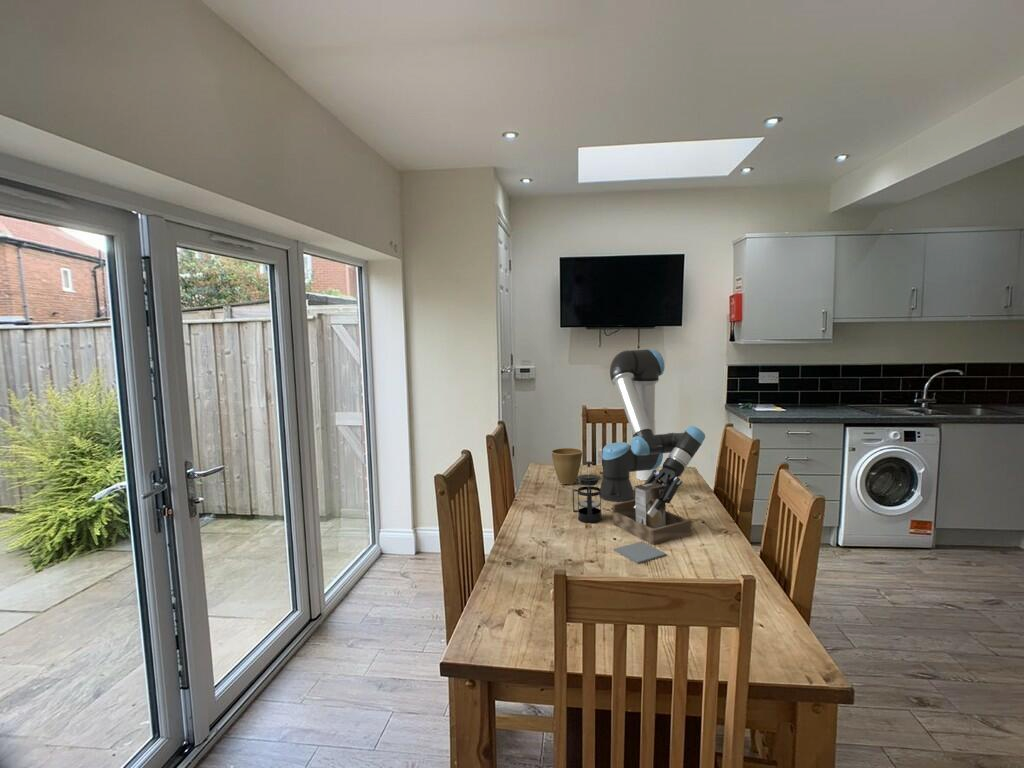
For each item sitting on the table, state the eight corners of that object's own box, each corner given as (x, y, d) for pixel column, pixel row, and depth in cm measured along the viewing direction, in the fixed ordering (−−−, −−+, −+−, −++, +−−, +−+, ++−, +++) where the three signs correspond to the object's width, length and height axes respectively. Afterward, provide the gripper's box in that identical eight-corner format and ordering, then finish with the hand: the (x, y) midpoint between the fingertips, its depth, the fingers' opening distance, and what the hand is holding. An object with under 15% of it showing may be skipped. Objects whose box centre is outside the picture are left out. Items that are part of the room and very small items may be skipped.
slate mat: (613, 550, 179) (613, 548, 179) (641, 543, 184) (641, 541, 184) (637, 563, 168) (637, 561, 168) (666, 555, 174) (666, 553, 173)
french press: (603, 515, 213) (602, 459, 211) (604, 523, 204) (602, 465, 201) (573, 514, 214) (572, 459, 212) (573, 523, 205) (571, 465, 203)
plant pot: (584, 487, 251) (584, 454, 250) (553, 488, 252) (552, 455, 250) (581, 478, 266) (580, 447, 265) (551, 479, 266) (550, 448, 265)
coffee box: (655, 522, 201) (654, 481, 199) (666, 528, 195) (666, 485, 193) (635, 527, 197) (634, 485, 195) (646, 533, 191) (645, 489, 190)
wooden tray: (612, 524, 202) (612, 504, 201) (648, 516, 210) (647, 496, 209) (653, 544, 182) (653, 522, 182) (690, 534, 190) (690, 512, 189)
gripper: (701, 474, 192) (667, 526, 187) (663, 462, 209) (631, 510, 204) (690, 462, 189) (655, 515, 184) (653, 451, 207) (620, 499, 201)
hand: (643, 512), depth 194 cm, fingers closed on coffee box, 7 cm apart
